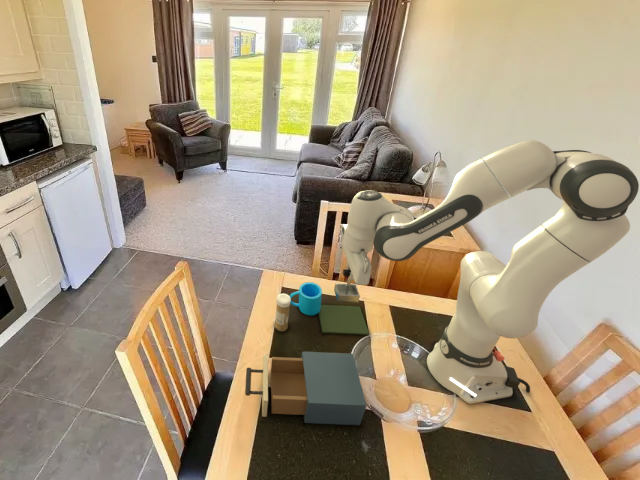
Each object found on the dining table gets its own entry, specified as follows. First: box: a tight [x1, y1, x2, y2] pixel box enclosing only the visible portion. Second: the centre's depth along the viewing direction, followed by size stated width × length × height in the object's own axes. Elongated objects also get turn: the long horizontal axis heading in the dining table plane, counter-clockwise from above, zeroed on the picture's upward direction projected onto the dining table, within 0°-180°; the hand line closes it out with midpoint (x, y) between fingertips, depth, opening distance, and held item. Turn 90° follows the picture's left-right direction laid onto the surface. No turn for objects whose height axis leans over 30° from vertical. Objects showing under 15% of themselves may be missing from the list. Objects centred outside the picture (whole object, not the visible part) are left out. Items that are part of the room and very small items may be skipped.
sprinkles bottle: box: [274, 293, 292, 332], centre depth 106 cm, size 5×5×14 cm
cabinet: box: [300, 351, 368, 426], centre depth 87 cm, size 15×14×9 cm
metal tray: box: [333, 268, 361, 303], centre depth 104 cm, size 7×5×11 cm
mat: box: [317, 304, 370, 336], centre depth 113 cm, size 16×12×1 cm
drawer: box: [244, 353, 308, 418], centre depth 87 cm, size 18×13×7 cm
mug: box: [289, 281, 323, 316], centre depth 115 cm, size 12×8×8 cm
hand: (350, 275), depth 102 cm, fingers closed on metal tray
